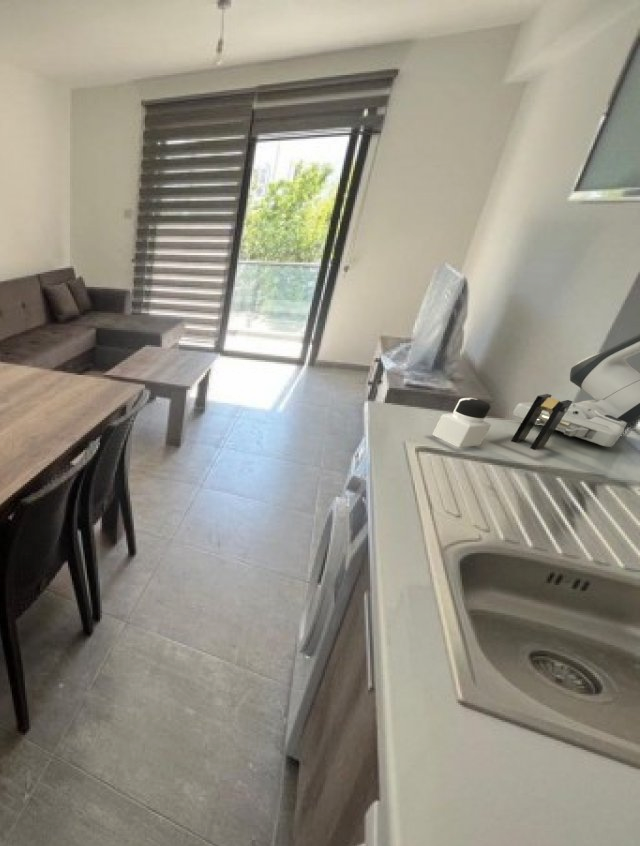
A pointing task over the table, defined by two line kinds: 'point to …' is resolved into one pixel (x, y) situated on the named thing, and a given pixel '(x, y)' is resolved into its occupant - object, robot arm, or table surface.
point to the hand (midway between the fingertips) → (551, 426)
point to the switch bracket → (549, 425)
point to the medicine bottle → (464, 423)
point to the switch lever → (549, 407)
